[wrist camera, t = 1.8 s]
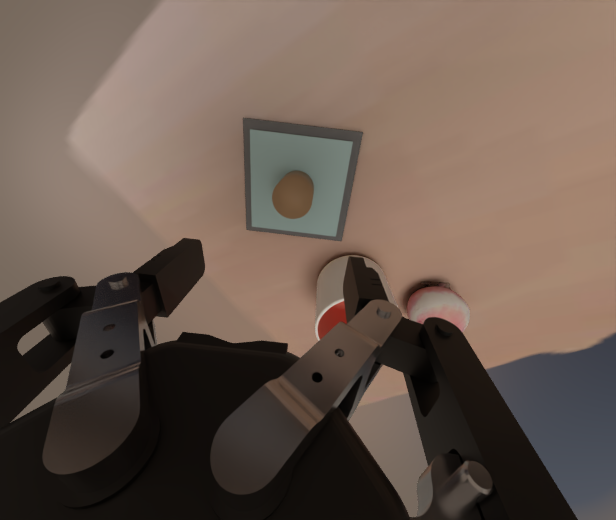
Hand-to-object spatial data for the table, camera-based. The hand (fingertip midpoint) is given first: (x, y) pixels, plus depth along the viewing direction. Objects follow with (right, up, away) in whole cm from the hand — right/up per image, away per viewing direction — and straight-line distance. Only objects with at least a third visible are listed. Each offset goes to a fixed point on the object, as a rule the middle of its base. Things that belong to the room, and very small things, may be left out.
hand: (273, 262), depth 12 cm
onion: (+20, -6, +23) cm, 31 cm away
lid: (+1, +9, +15) cm, 18 cm away
